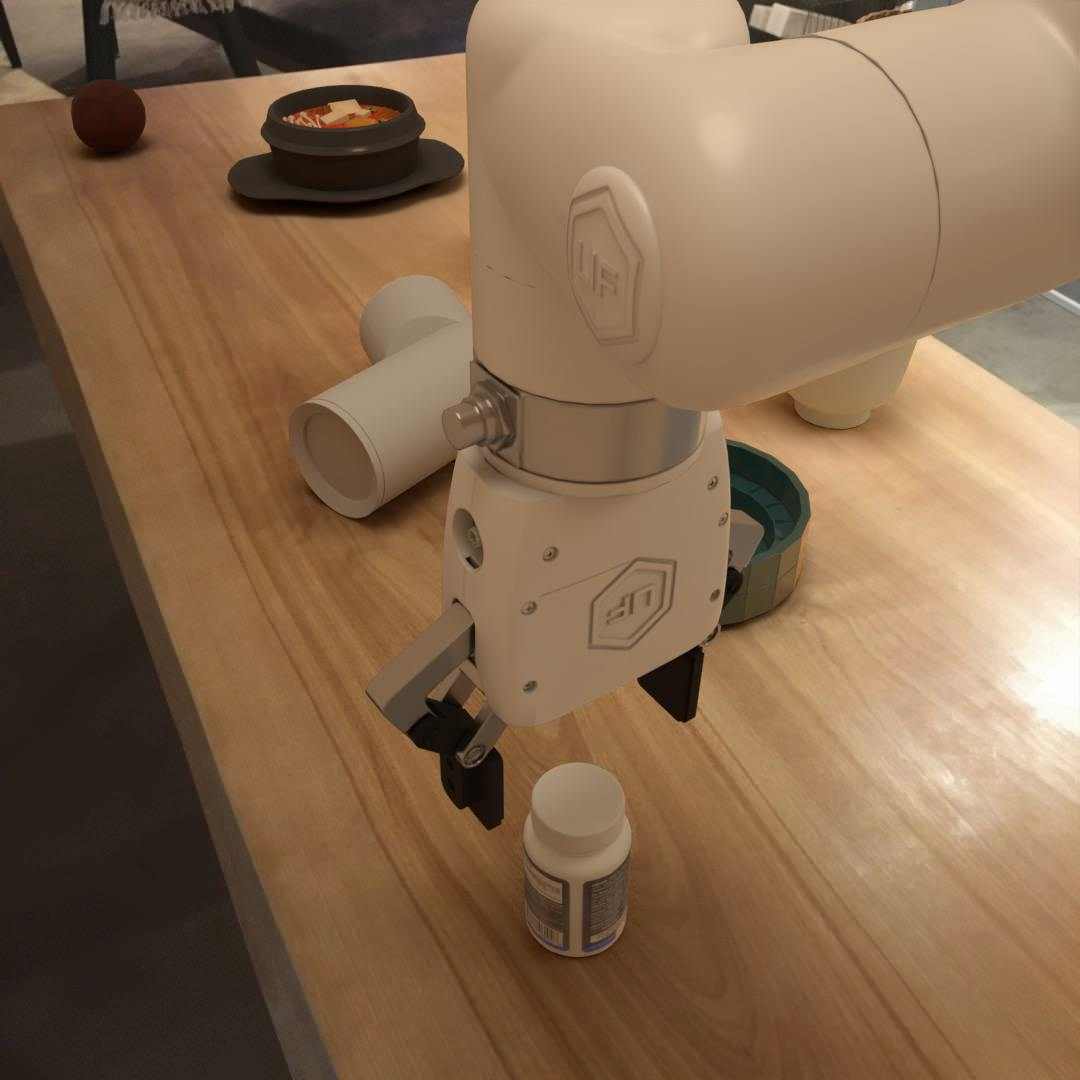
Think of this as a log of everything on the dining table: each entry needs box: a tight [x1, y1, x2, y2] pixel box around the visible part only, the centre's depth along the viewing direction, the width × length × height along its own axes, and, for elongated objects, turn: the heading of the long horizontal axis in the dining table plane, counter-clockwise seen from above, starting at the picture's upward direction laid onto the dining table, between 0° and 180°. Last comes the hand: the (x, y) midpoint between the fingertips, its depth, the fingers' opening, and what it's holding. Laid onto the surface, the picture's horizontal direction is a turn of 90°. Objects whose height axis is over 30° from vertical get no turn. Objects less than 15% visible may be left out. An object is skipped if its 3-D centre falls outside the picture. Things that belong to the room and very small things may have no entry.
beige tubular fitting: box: [287, 274, 473, 519], centre depth 83 cm, size 18×11×20 cm
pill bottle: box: [522, 761, 633, 958], centre depth 52 cm, size 5×5×8 cm
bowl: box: [718, 438, 812, 626], centre depth 74 cm, size 14×14×5 cm
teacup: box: [786, 340, 918, 430], centre depth 87 cm, size 12×15×10 cm
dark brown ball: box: [70, 78, 147, 153], centre depth 132 cm, size 8×9×8 cm
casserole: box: [227, 84, 466, 205], centre depth 123 cm, size 25×19×8 cm
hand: (574, 750), depth 48 cm, fingers open, 9 cm apart
